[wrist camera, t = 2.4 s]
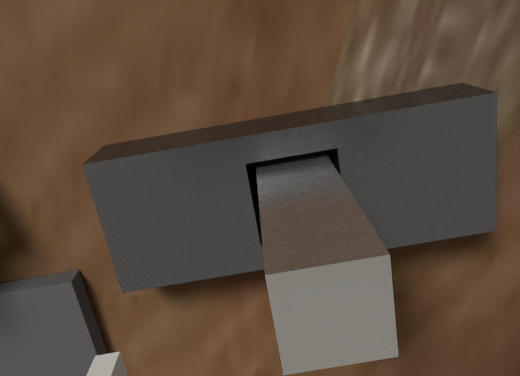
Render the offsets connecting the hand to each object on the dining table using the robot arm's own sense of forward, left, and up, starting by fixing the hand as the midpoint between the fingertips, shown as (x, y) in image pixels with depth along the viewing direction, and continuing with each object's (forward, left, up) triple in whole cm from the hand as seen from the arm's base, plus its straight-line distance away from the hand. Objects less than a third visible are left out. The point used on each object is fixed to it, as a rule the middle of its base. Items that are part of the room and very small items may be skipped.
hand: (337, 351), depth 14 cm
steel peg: (0, 0, -16) cm, 16 cm away
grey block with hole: (0, 0, -16) cm, 16 cm away
